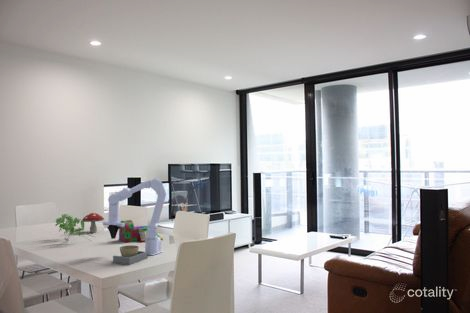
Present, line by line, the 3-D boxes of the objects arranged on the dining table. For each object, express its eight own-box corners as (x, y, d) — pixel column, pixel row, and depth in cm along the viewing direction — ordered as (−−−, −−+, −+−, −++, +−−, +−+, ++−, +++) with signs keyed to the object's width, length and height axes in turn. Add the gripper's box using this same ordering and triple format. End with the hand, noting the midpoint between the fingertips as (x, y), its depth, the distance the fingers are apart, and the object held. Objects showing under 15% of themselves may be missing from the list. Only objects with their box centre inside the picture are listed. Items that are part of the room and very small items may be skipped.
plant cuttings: (70, 246, 268) (44, 230, 257) (85, 225, 275) (60, 209, 264) (88, 254, 242) (60, 237, 231) (104, 232, 249) (78, 214, 238)
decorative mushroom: (77, 233, 281) (77, 213, 281) (91, 230, 296) (91, 211, 296) (94, 234, 276) (95, 214, 276) (108, 231, 291) (108, 212, 292)
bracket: (131, 256, 211) (131, 250, 211) (147, 258, 206) (147, 252, 206) (112, 262, 197) (113, 255, 197) (129, 264, 192) (129, 258, 193)
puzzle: (127, 244, 243) (127, 222, 244) (119, 240, 257) (119, 219, 258) (162, 240, 258) (163, 219, 258) (152, 236, 272) (153, 217, 272)
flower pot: (131, 263, 195) (131, 249, 196) (115, 261, 199) (115, 248, 199) (142, 259, 205) (142, 246, 205) (127, 257, 208) (127, 244, 208)
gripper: (99, 214, 214) (98, 238, 213) (118, 216, 208) (118, 240, 208) (107, 213, 220) (107, 236, 220) (127, 214, 214) (126, 238, 214)
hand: (113, 238), depth 214 cm, fingers closed
